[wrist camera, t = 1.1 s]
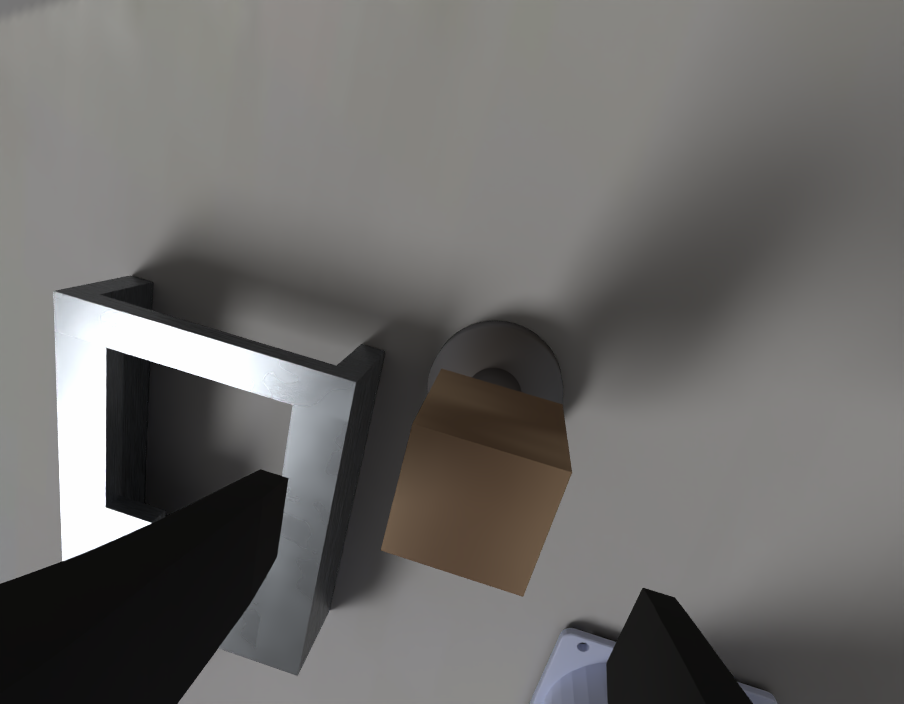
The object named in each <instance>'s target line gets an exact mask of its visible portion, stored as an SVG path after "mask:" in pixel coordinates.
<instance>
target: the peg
mask: <svg viewBox="0 0 904 704" xmlns="http://www.w3.org/2000/svg"><path fill="white" fill-rule="evenodd" d="M427 392H428V395H427V397H426V399H425V401H424V403H423V404H422V406H421V408H420V410H419V412H418V414H417V416H416V418H415V420H414V422H413V424H412V427H411V431H410V435H409V439H408V443H407V447H406V451H405V455H404V459H403V463H402V467H401V471H400V475H399V479H398V483H397V487H396V491H395V495H394V499H393V503H392V507H391V511H390V515H389V519H388V523H387V527H386V531H385V535H384V539H383V543H382V547H381V551H384V552H387V553H390V554H393V555H397V556H400V557H403V558H406V559H409V560H412V561H415V562H418V563H421V564H424V565H427V566H430V567H433V568H436V569H440V570H443V571H446V572H449V573H452V574H455V575H458V576H461V577H464V578H467V579H470V580H473V581H476V582H479V583H483V584H486V585H489V586H492V587H495V588H498V589H501V590H504V591H507V592H510V593H513V594H516V595H519V596H522V597H523V596H524V593H525V591H526V588H527V585H528V583H529V580H530V578H531V575H532V573H533V570H534V568H535V565H536V563H537V560H538V558H539V555H540V552H541V550H542V547H543V545H544V542H545V540H546V537H547V535H548V532H549V530H550V527H551V525H552V522H553V519H554V517H555V514H556V512H557V509H558V507H559V504H560V502H561V499H562V497H563V494H564V492H565V489H566V486H567V484H568V481H569V479H570V476H571V474H572V469H571V461H570V454H569V447H568V440H567V433H566V426H565V419H564V411H563V404H562V402H563V384H562V378H561V371H560V367H559V364H558V361H557V359H556V357H555V355H554V353H553V352H552V350H551V349H550V347H549V346H548V345H547V344H546V343H545V341H544V340H542V339H541V338H540V337H539V336H538V335H536V334H535V333H534V332H532V331H531V330H529V329H527V328H525V327H523V326H520V325H517V324H515V323H510V322H506V321H485V322H479V323H476V324H473V325H470V326H468V327H466V328H463V329H462V330H460V331H459V332H457V333H456V334H455V335H453V336H452V337H451V338H450V339H449V340H448V341H447V342H446V343H445V344H444V346H443V347H442V349H441V350H440V352H439V354H438V355H437V357H436V359H435V361H434V363H433V365H432V367H431V370H430V373H429V377H428V386H427Z"/></svg>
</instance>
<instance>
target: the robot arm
mask: <svg viewBox="0 0 904 704" xmlns="http://www.w3.org/2000/svg"><path fill="white" fill-rule="evenodd" d="M288 479H289V478H286V477H283V476H280V475H277V474H273V473H270V472H267V471H264V470H258V471H256V472H254V473H252V474H250V475H248V476H246V477H244V478H242V479H240V480H238V481H236V482H234V483H232V484H230V485H228V486H226V487H224V488H222V489H221V490H219V491H217V492H215V493H213V494H211V495H209V496H207V497H205V498H203V499H201V500H199V501H197V502H195V503H193V504H191V505H189V506H187V507H185V508H183V509H181V510H178V511H176V512H174V513H172V514H170V515H168V516H166V517H164V518H162V519H160V520H158V521H156V522H154V523H151V524H149V525H147V526H145V527H142V528H140V529H138V530H135V531H133V532H131V533H129V534H126V535H124V536H122V537H120V538H117V539H115V540H113V541H111V542H108V543H106V544H104V545H102V546H99V547H97V548H95V549H92V550H90V551H87V552H85V553H82V554H80V555H77V556H75V557H72V558H70V559H67V560H65V561H62V562H60V563H57V564H54V565H51V566H49V567H46V568H43V569H41V570H38V571H35V572H32V573H30V574H27V575H24V576H21V577H19V578H16V579H13V580H10V581H7V582H4V583H1V584H0V704H178V702H179V701H180V699H181V698H182V697H183V695H184V694H185V693H186V691H187V690H188V689H189V687H190V686H191V685H192V683H193V682H194V680H195V679H196V678H197V676H198V675H199V674H200V672H201V671H202V670H203V668H204V667H205V666H206V664H207V663H208V661H209V660H210V659H211V657H212V656H213V655H214V653H215V652H216V651H217V649H218V648H219V647H220V645H221V644H222V642H223V641H224V640H225V638H226V637H227V636H228V634H229V633H230V631H231V630H232V629H233V627H234V626H235V625H236V623H237V622H238V620H239V619H240V618H241V616H242V615H243V614H244V612H245V611H246V609H247V608H248V607H249V605H250V604H251V602H252V600H253V598H254V597H255V595H256V593H257V592H258V590H259V588H260V587H261V585H262V583H263V581H264V580H265V578H266V576H267V574H268V573H269V571H270V569H271V567H272V565H273V564H274V562H275V560H276V558H277V555H278V548H279V541H280V534H281V527H282V520H283V513H284V507H285V500H286V493H287V486H288ZM582 642H583V643H585V644H580V643H582ZM529 704H778V703H777V701H776V699H775V697H774V696H773V695H772V694H771V693H769V692H767V691H764V690H761V689H758V688H755V687H752V686H749V685H746V684H743V683H740V682H737V681H736V680H735V678H734V677H733V676H732V674H731V673H730V672H729V670H728V669H727V667H726V666H725V665H724V663H723V662H722V661H721V659H720V658H719V656H718V655H717V654H716V652H715V651H714V650H713V648H712V647H711V645H710V644H709V643H708V641H707V640H706V639H705V637H704V636H703V634H702V633H701V632H700V630H699V629H698V628H697V626H696V625H695V623H694V622H693V621H692V619H691V618H690V617H689V615H688V614H687V613H686V611H685V610H684V609H683V607H682V606H681V605H680V604H679V602H678V601H677V600H676V599H675V597H671V596H668V595H665V594H662V593H658V592H655V591H652V590H649V589H645V588H642V590H641V592H640V595H639V597H638V599H637V601H636V603H635V605H634V607H633V609H632V611H631V613H630V615H629V617H628V619H627V621H626V623H625V626H624V628H623V630H622V632H621V634H620V636H619V638H618V640H617V642H615V641H612V640H608V639H605V638H602V637H599V636H596V635H593V634H590V633H587V632H584V631H581V630H578V629H575V628H566V629H564V630H563V631H562V632H561V633H560V636H559V638H558V640H557V642H556V645H555V647H554V649H553V651H552V654H551V656H550V658H549V660H548V663H547V665H546V667H545V669H544V672H543V674H542V676H541V678H540V681H539V683H538V685H537V687H536V690H535V692H534V694H533V696H532V699H531V701H530V703H529Z"/></svg>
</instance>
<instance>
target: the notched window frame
mask: <svg viewBox="0 0 904 704" xmlns="http://www.w3.org/2000/svg"><path fill="white" fill-rule="evenodd" d="M152 289H153V282H151V281H147V280H144V279H140V278H137V277H134V276H125V277H121V278H116V279H111V280H106V281H101V282H96V283H91V284H86V285H81V286H76V287H71V288H66V289H61V290H56V291H53V292H54V322H55V353H56V383H57V413H58V443H59V473H60V503H61V533H62V561H65V560H67V559H70V558H72V557H75V556H77V555H80V554H82V553H85V552H87V551H90V550H92V549H95V548H97V547H99V546H102V545H104V544H106V543H108V542H111V541H113V540H115V539H117V538H120V537H122V536H124V535H126V534H129V533H131V532H133V531H135V530H138V529H140V528H142V527H145V526H147V525H149V524H151V523H154V522H156V521H158V520H160V519H162V518H164V517H165V512H166V511H165V510H162V509H159V508H156V507H153V506H150V505H147V504H144V497H145V471H146V445H147V419H148V393H149V367H150V361H152V362H155V363H159V364H162V365H165V366H168V367H172V368H175V369H178V370H181V371H185V372H188V373H191V374H194V375H198V376H201V377H204V378H207V379H211V380H214V381H217V382H220V383H224V384H227V385H230V386H233V387H237V388H240V389H243V390H246V391H249V392H253V393H256V394H259V395H262V396H266V397H269V398H272V399H275V400H279V401H282V402H285V403H288V404H292V405H293V407H292V414H291V420H290V427H289V433H288V440H287V447H286V453H285V460H284V466H283V473H282V476H283V477H286V478H289V479H288V486H287V493H286V500H285V507H284V513H283V520H282V527H281V534H280V541H279V548H278V555H277V558H276V560H275V562H274V564H273V565H272V567H271V569H270V571H269V573H268V574H267V576H266V578H265V580H264V581H263V583H262V585H261V587H260V588H259V590H258V592H257V593H256V595H255V597H254V598H253V600H252V602H251V604H250V605H249V607H248V608H247V609H246V611H245V612H244V614H243V615H242V616H241V618H240V619H239V620H238V622H237V623H236V625H235V626H234V627H233V629H232V630H231V631H230V633H229V634H228V636H227V637H226V638H225V640H224V641H223V642H222V644H221V645H220V647H219V649H222V650H225V651H228V652H231V653H234V654H236V655H239V656H242V657H245V658H248V659H251V660H254V661H256V662H259V663H262V664H265V665H268V666H271V667H274V668H277V669H279V670H282V671H285V672H288V673H291V674H294V675H297V676H298V674H299V672H300V670H301V668H302V666H303V664H304V662H305V660H306V658H307V656H308V654H309V652H310V650H311V647H312V645H313V643H314V641H315V639H316V637H317V635H318V633H319V631H320V629H321V627H322V625H323V623H324V621H325V619H326V617H327V615H328V613H329V610H330V605H331V600H332V596H333V591H334V587H335V582H336V577H337V573H338V568H339V564H340V559H341V554H342V550H343V545H344V540H345V536H346V531H347V527H348V522H349V517H350V513H351V508H352V504H353V499H354V494H355V490H356V485H357V480H358V476H359V471H360V467H361V462H362V457H363V453H364V448H365V443H366V439H367V434H368V430H369V425H370V420H371V416H372V411H373V407H374V402H375V397H376V393H377V388H378V383H379V379H380V374H381V370H382V365H383V360H384V356H385V351H384V350H380V349H377V348H374V347H370V346H367V345H363V344H361V345H360V346H359V347H357V348H356V349H355V350H354V351H353V352H352V353H351V354H349V355H348V356H347V357H346V358H345V359H344V360H343V361H341V362H340V363H339V364H338V365H337V366H336V365H332V364H329V363H326V362H322V361H319V360H316V359H312V358H309V357H306V356H302V355H299V354H296V353H292V352H289V351H286V350H282V349H279V348H276V347H272V346H269V345H266V344H262V343H259V342H256V341H252V340H249V339H246V338H242V337H239V336H236V335H232V334H229V333H226V332H222V331H219V330H216V329H213V328H209V327H206V326H203V325H199V324H196V323H193V322H189V321H186V320H183V319H179V318H176V317H173V316H169V315H166V314H163V313H159V312H156V311H153V310H152Z"/></svg>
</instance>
